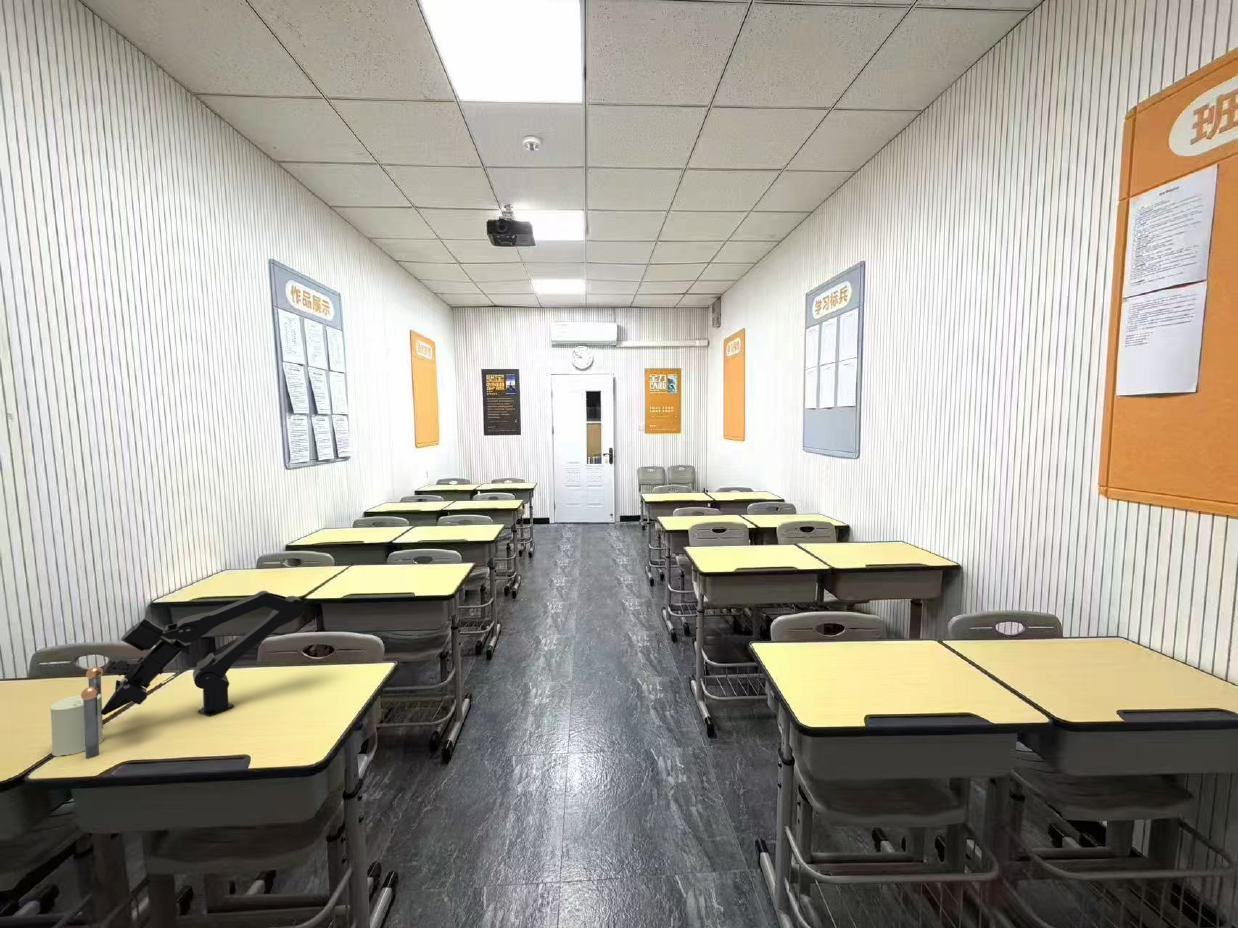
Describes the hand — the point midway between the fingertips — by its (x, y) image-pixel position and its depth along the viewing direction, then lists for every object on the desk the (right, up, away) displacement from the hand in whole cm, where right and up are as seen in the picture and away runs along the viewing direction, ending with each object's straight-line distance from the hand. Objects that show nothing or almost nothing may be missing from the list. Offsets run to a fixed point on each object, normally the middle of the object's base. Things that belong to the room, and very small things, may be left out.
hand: (102, 713), depth 139 cm
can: (-3, -7, -3) cm, 8 cm away
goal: (-1, -7, -1) cm, 7 cm away
